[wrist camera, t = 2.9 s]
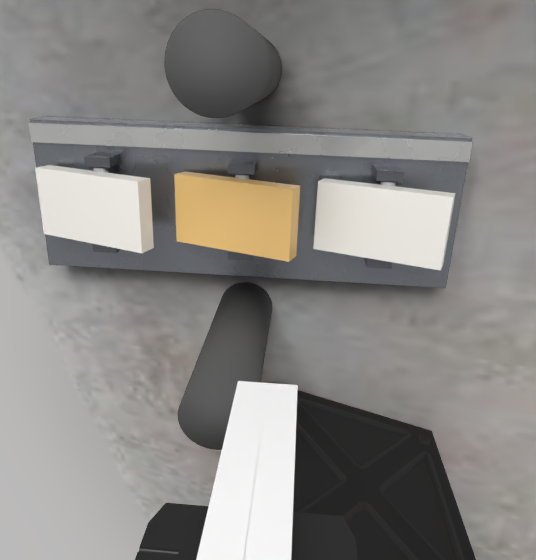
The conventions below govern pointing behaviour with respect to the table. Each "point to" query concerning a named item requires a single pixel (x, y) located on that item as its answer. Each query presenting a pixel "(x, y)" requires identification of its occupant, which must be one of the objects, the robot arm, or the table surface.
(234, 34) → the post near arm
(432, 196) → the paddle near
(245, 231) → the paddle mid
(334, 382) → the table surface
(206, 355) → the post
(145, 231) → the paddle far
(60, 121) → the panel
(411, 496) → the red boxy piece
